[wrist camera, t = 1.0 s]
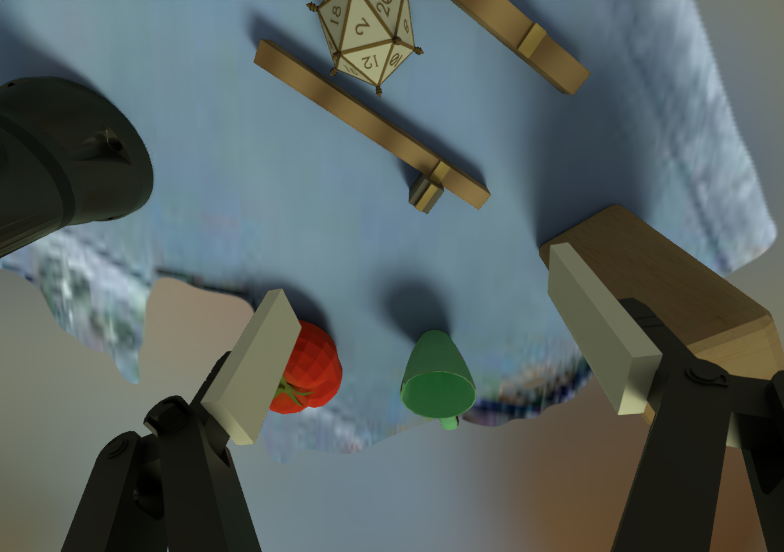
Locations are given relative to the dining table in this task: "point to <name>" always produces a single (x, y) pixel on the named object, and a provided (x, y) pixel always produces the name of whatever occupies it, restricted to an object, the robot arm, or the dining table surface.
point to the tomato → (308, 372)
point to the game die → (367, 37)
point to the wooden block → (676, 293)
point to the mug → (437, 380)
